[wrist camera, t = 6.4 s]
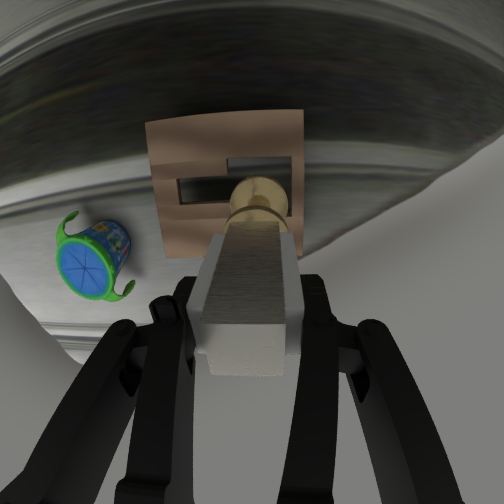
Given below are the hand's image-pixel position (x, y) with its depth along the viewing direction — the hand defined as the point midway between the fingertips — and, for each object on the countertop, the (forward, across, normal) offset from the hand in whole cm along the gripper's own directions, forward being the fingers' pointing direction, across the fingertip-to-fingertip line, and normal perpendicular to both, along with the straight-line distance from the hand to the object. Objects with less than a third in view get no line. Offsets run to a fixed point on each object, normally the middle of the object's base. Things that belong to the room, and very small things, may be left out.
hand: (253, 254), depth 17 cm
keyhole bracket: (+24, -4, 0) cm, 24 cm away
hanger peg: (+10, 0, 0) cm, 10 cm away
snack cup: (+24, -26, -10) cm, 36 cm away
